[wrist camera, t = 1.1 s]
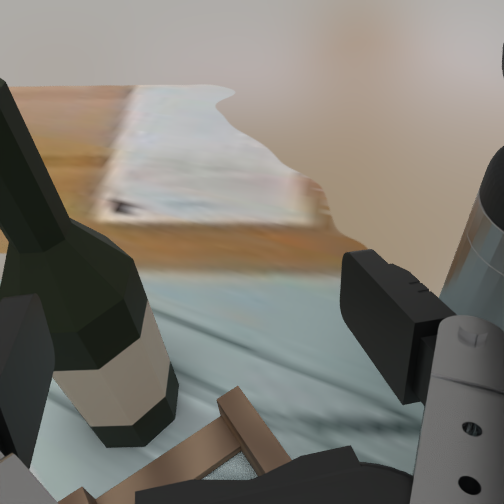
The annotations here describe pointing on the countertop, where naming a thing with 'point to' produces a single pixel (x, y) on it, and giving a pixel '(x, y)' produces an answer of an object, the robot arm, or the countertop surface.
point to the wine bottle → (82, 299)
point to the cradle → (202, 453)
